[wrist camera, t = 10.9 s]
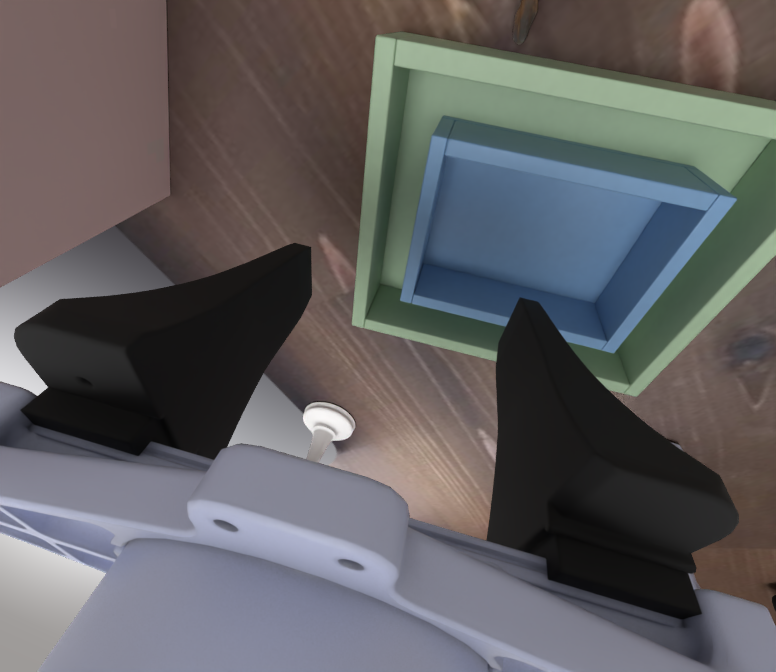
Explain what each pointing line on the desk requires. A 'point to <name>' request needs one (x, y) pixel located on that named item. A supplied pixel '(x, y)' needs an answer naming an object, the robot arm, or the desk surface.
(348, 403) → the desk surface
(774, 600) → the tape measure
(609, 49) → the desk surface
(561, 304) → the blue bin
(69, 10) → the greeting card
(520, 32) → the lion figurine
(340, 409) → the chess piece
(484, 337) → the big bin
